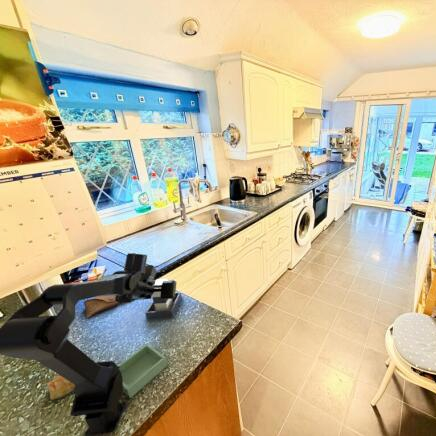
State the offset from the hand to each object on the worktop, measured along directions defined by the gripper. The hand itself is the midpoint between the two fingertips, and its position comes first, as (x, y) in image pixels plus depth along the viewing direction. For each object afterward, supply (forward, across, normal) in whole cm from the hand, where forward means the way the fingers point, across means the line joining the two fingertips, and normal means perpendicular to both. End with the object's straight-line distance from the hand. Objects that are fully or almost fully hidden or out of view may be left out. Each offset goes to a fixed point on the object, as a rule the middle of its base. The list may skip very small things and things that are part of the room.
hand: (157, 293), depth 90 cm
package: (+9, 0, +5) cm, 11 cm away
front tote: (-10, -3, +24) cm, 26 cm away
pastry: (-11, +16, +26) cm, 32 cm away
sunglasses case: (+14, +23, +1) cm, 27 cm away
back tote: (+10, 0, +5) cm, 11 cm away
